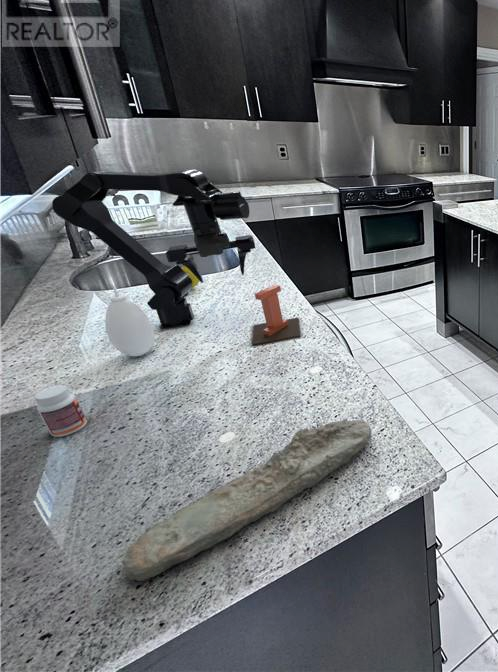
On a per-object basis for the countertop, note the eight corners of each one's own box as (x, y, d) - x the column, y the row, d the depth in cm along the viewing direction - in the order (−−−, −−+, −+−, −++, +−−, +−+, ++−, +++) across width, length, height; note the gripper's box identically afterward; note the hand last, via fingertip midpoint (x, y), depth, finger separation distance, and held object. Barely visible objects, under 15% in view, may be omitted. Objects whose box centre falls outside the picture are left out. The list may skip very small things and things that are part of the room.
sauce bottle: (111, 357, 96) (82, 287, 88) (150, 342, 102) (126, 276, 95) (127, 367, 92) (98, 296, 85) (167, 351, 99) (143, 284, 92)
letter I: (263, 334, 107) (253, 293, 102) (282, 323, 112) (273, 284, 108) (270, 336, 106) (261, 295, 101) (289, 325, 112) (281, 285, 107)
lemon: (206, 286, 134) (200, 263, 130) (192, 292, 129) (185, 269, 125) (191, 284, 134) (184, 262, 131) (176, 291, 129) (169, 268, 126)
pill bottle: (93, 423, 76) (76, 387, 73) (61, 440, 72) (41, 403, 69) (77, 416, 78) (60, 380, 74) (44, 433, 74) (24, 396, 70)
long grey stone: (123, 555, 56) (141, 612, 50) (107, 533, 54) (124, 590, 48) (354, 417, 80) (383, 445, 74) (351, 397, 77) (380, 425, 72)
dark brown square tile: (252, 345, 103) (252, 344, 102) (254, 326, 111) (253, 324, 111) (300, 336, 108) (300, 335, 107) (298, 318, 116) (298, 317, 116)
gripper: (152, 234, 92) (176, 296, 98) (247, 221, 101) (264, 279, 107) (159, 225, 101) (181, 283, 107) (246, 214, 110) (262, 268, 116)
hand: (223, 278), depth 109 cm, fingers open, 9 cm apart
